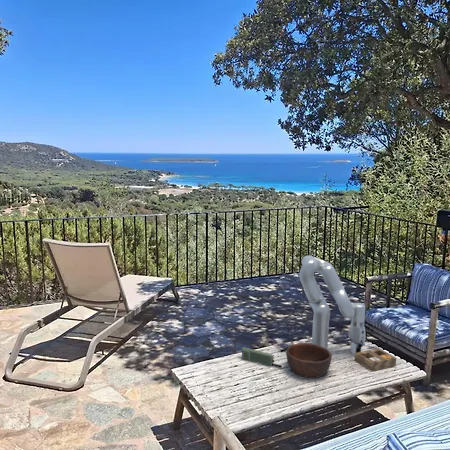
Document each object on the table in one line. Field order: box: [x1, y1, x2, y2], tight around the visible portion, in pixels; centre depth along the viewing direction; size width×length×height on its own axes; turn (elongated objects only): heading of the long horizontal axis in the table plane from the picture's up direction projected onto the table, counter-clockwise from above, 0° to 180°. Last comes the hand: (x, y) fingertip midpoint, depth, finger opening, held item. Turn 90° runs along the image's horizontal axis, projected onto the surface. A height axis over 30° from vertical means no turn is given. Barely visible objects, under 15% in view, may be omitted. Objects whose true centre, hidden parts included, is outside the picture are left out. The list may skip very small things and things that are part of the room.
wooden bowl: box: [285, 342, 333, 379], centre depth 229 cm, size 25×25×10 cm
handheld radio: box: [241, 346, 282, 369], centre depth 236 cm, size 7×3×25 cm
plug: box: [350, 340, 360, 355], centre depth 251 cm, size 4×4×8 cm
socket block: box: [354, 347, 397, 372], centre depth 238 cm, size 18×14×5 cm
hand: (355, 351), depth 251 cm, fingers closed on plug, 4 cm apart
